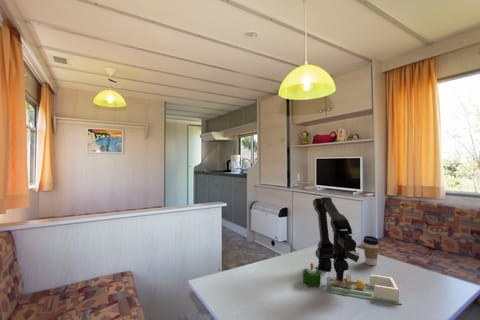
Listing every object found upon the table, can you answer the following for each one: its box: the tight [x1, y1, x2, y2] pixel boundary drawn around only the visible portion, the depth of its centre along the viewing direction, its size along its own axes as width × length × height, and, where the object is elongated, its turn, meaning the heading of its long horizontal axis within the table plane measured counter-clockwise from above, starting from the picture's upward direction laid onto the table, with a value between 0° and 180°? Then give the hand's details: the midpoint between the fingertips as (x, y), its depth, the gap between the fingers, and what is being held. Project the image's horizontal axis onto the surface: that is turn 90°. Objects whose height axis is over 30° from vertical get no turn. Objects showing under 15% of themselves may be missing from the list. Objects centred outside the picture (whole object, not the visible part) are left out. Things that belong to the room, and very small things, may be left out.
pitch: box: [327, 274, 402, 306], centre depth 113 cm, size 29×15×5 cm, turn 71°
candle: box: [302, 262, 322, 288], centre depth 120 cm, size 8×8×10 cm
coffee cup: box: [362, 235, 380, 266], centre depth 142 cm, size 8×8×15 cm
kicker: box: [332, 273, 353, 290], centre depth 116 cm, size 8×7×8 cm
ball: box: [355, 279, 365, 289], centre depth 113 cm, size 4×4×4 cm
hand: (339, 275), depth 116 cm, fingers open, 9 cm apart
